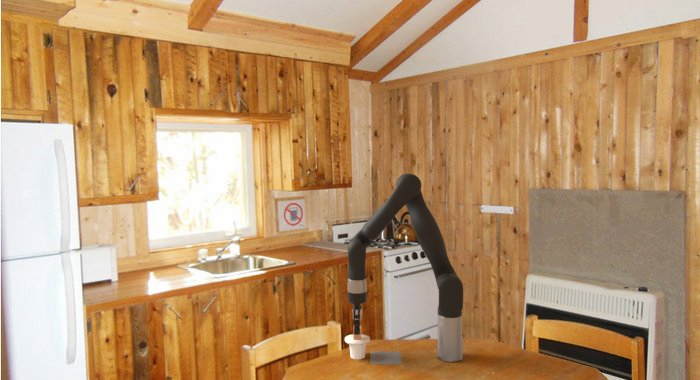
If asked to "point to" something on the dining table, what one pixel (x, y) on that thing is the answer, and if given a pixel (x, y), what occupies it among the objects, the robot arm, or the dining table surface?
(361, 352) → the white cup
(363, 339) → the lid
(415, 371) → the dining table surface
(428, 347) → the dining table surface
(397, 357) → the mat
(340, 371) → the dining table surface
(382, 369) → the dining table surface
